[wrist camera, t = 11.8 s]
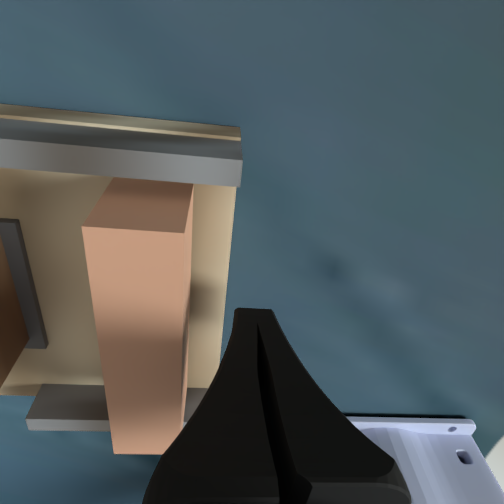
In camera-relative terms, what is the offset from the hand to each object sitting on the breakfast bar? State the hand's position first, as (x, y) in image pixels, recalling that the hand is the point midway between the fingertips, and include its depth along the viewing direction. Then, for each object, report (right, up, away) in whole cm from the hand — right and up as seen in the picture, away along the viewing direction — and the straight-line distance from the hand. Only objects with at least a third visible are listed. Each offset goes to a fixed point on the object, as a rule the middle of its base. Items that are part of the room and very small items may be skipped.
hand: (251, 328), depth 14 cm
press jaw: (-4, +1, +1) cm, 4 cm away
